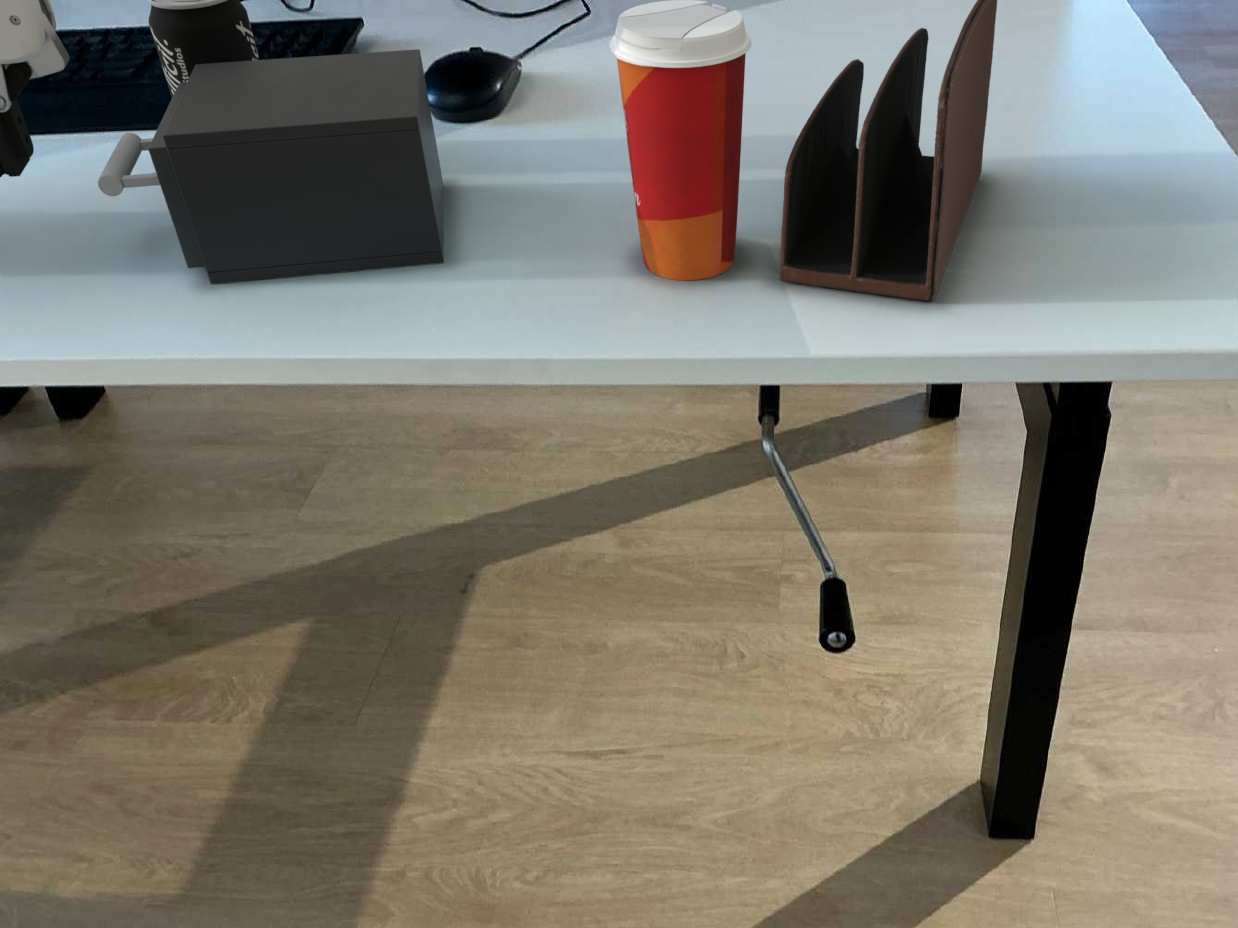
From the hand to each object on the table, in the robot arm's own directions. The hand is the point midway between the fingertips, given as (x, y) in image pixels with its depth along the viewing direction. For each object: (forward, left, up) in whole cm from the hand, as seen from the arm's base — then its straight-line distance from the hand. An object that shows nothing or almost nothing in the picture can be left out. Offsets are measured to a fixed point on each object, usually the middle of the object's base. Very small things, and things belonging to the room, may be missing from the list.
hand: (11, 167), depth 76 cm
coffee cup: (+42, -9, -6) cm, 43 cm away
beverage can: (+11, +14, -6) cm, 18 cm away
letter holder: (+56, -7, -6) cm, 56 cm away
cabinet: (+19, 0, -6) cm, 20 cm away
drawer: (+15, 0, -5) cm, 16 cm away
